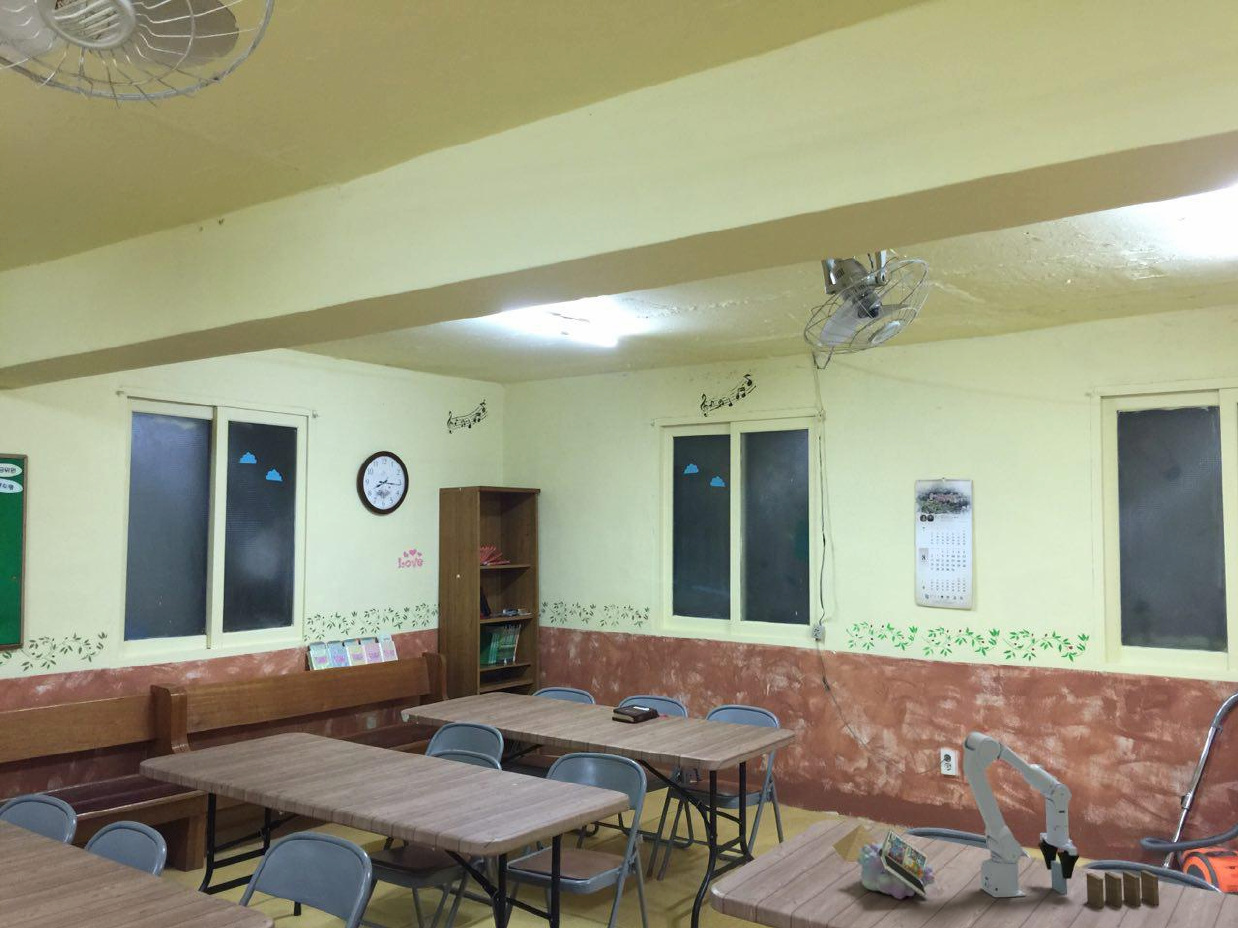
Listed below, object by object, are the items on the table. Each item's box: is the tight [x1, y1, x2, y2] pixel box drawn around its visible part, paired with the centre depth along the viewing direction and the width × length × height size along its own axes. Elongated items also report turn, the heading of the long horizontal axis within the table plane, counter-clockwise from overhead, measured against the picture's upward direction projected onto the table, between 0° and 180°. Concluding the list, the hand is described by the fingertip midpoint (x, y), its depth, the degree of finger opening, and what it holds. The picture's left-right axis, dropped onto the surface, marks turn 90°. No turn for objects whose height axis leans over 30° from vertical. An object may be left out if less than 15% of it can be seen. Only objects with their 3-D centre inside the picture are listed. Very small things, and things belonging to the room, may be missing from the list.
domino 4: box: [1122, 870, 1142, 907], centre depth 263 cm, size 1×5×8 cm, turn 9°
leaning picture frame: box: [857, 827, 936, 900], centre depth 271 cm, size 20×22×18 cm
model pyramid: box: [831, 824, 879, 862], centre depth 303 cm, size 17×17×10 cm
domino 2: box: [1085, 872, 1105, 909], centre depth 261 cm, size 1×5×8 cm, turn 9°
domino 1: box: [1050, 860, 1068, 895], centre depth 272 cm, size 1×5×8 cm, turn 9°
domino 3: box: [1104, 871, 1123, 908], centre depth 262 cm, size 1×5×8 cm, turn 9°
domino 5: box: [1140, 869, 1160, 906], centre depth 264 cm, size 1×5×8 cm, turn 9°
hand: (1059, 873), depth 272 cm, fingers open, 7 cm apart
